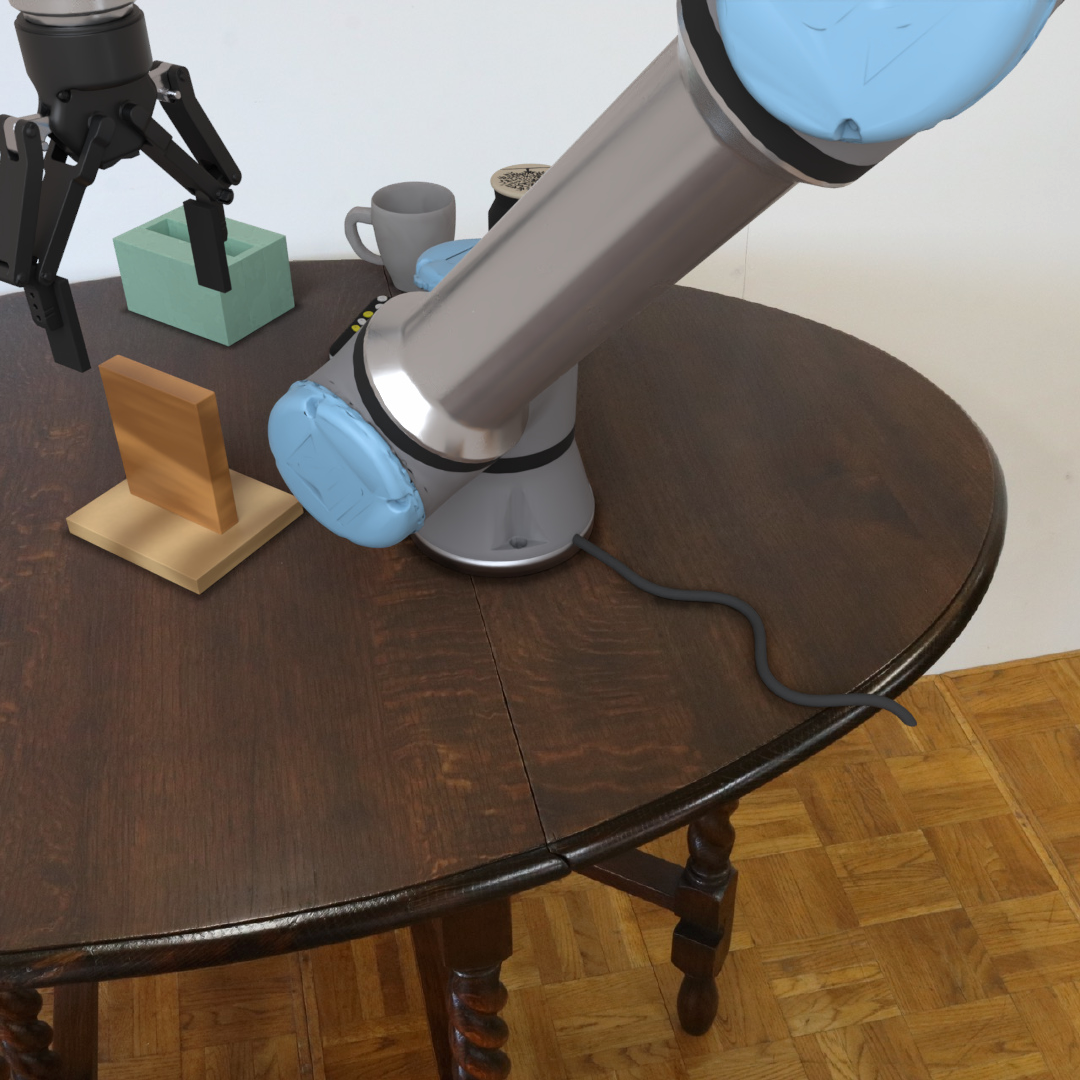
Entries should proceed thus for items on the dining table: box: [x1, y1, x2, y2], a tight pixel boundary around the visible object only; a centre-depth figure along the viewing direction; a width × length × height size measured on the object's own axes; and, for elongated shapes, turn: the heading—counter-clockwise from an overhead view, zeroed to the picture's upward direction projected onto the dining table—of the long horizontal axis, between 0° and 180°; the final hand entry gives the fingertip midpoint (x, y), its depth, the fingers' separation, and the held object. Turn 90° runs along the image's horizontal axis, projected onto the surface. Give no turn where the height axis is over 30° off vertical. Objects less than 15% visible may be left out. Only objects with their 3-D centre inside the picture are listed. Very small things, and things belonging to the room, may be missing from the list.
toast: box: [98, 354, 238, 534], centre depth 91 cm, size 2×10×12 cm, turn 58°
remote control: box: [328, 295, 394, 360], centre depth 119 cm, size 6×13×2 cm, turn 163°
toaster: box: [112, 204, 295, 347], centre depth 122 cm, size 10×16×8 cm, turn 59°
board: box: [65, 468, 304, 596], centre depth 95 cm, size 14×12×2 cm
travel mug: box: [487, 163, 552, 233], centre depth 112 cm, size 8×8×18 cm
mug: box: [343, 181, 457, 293], centre depth 127 cm, size 12×9×10 cm
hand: (148, 324), depth 84 cm, fingers open, 13 cm apart
